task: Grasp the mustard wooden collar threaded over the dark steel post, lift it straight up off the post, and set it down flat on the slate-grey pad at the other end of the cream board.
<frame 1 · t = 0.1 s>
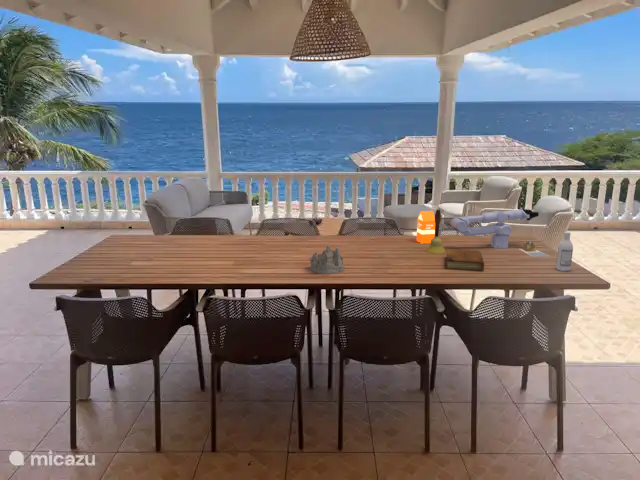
hand: (534, 212, 303), 22 cm above the table, tool horizontal, fingers open, 7 cm apart
handbell: (435, 251, 299), on the table
bath foam: (562, 269, 264), on the table
board: (533, 254, 293), on the table
grey sandcastle: (327, 270, 263), on the table
orange juice: (425, 242, 322), on the table
diary: (463, 265, 273), on the table
post: (528, 251, 298), resting on board
collar: (529, 250, 298), point 1 cm above the table, touching board
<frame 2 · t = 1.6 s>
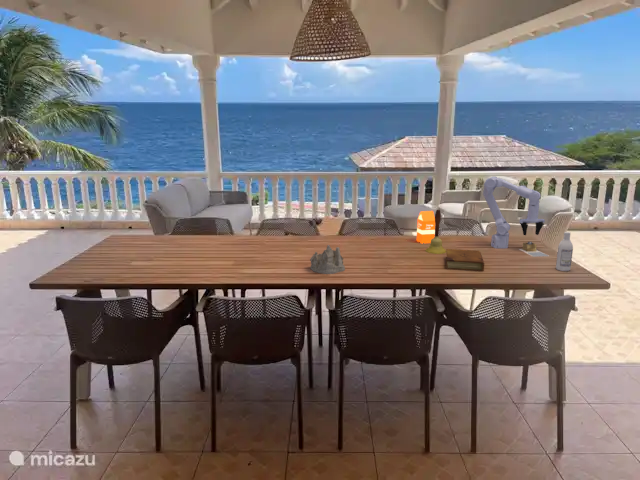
hand: (530, 234, 296), 10 cm above the table, tool pointing down, fingers open, 7 cm apart
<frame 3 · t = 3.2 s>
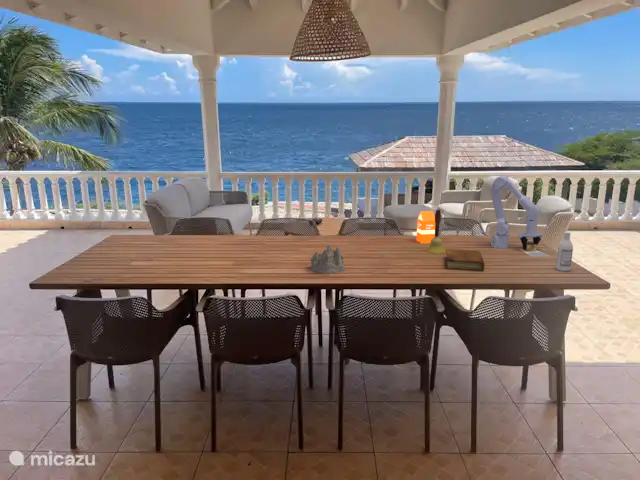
hand: (529, 249, 298), 2 cm above the table, tool pointing down, fingers closed on collar, 6 cm apart
collar: (529, 250, 298), point 1 cm above the table, touching board, gripper
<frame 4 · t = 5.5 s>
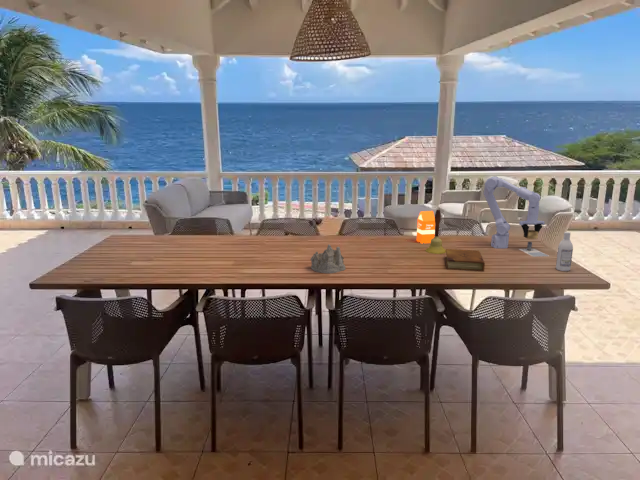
hand: (530, 236, 296), 9 cm above the table, tool pointing down, fingers closed on collar, 6 cm apart
collar: (530, 237, 296), point 9 cm above the table, touching gripper
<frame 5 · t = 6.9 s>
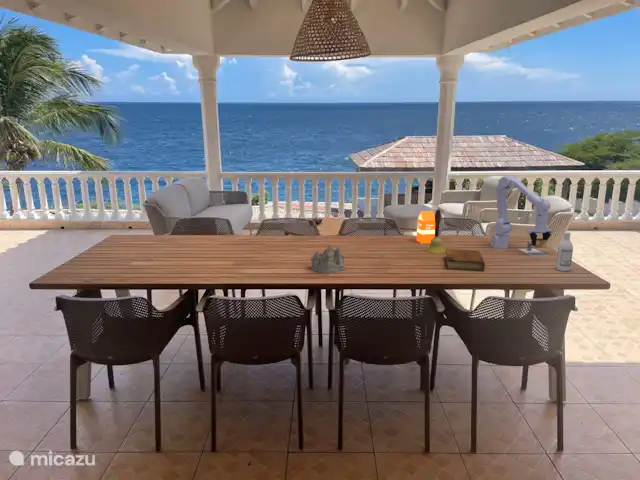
hand: (538, 245, 288), 6 cm above the table, tool pointing down, fingers closed on collar, 6 cm apart
collar: (538, 246, 288), point 6 cm above the table, touching gripper
when the fingers open (3 cm above the table, at t = 8.0 s): collar drops 1 cm, resting on board.
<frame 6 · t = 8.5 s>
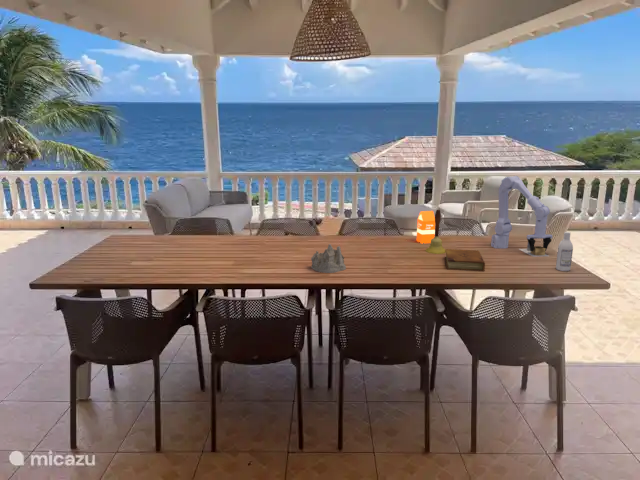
hand: (538, 250, 288), 3 cm above the table, tool pointing down, fingers open, 7 cm apart
collar: (537, 254, 289), point 1 cm above the table, touching board
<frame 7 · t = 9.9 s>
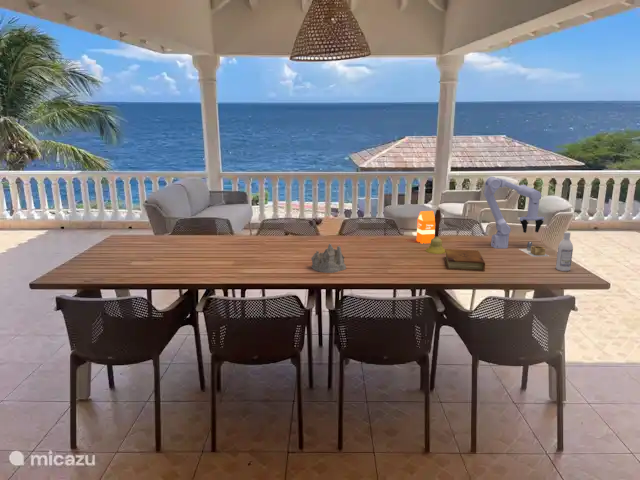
hand: (530, 232, 302), 10 cm above the table, tool pointing down, fingers open, 7 cm apart
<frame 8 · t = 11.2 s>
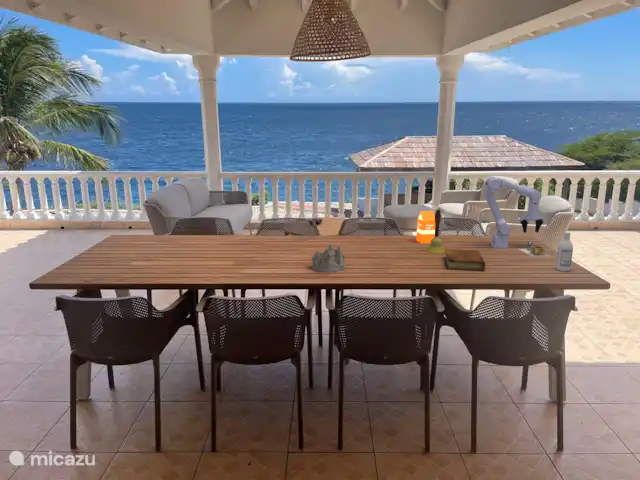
hand: (530, 232, 302), 10 cm above the table, tool pointing down, fingers open, 7 cm apart
at the end: collar 0.1 cm from the target spot, point 1.2 cm above the table; collar tilted 0°; the gripper is holding nothing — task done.
